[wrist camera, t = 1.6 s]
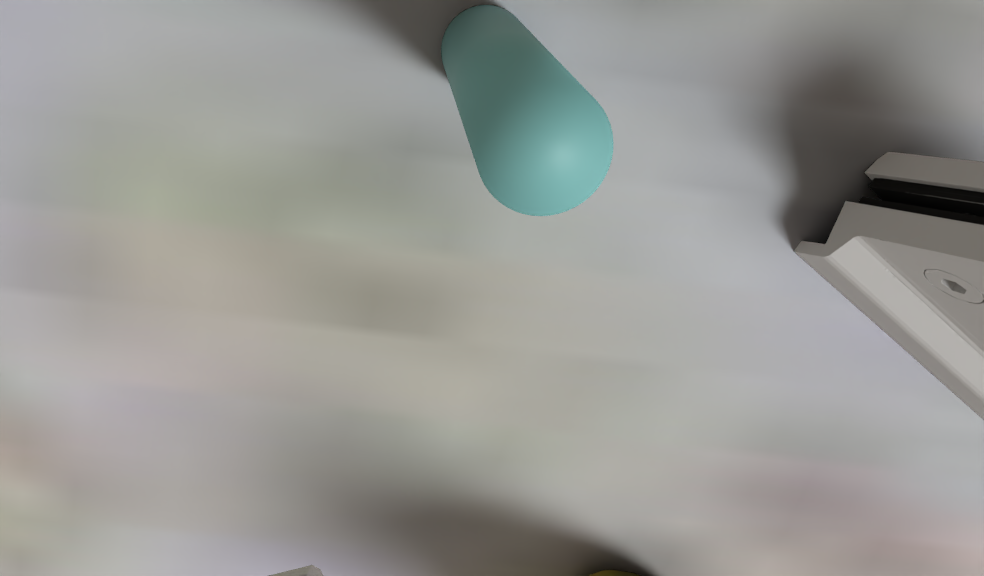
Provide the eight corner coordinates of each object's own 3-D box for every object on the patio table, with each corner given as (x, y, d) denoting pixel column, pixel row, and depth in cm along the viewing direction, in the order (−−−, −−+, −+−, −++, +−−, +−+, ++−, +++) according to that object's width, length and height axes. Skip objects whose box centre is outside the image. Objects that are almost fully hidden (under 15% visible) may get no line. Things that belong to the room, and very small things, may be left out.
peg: (518, -6, 29) (600, 64, 18) (537, 82, 30) (623, 196, 19) (431, 17, 29) (460, 101, 18) (453, 104, 30) (493, 231, 19)
